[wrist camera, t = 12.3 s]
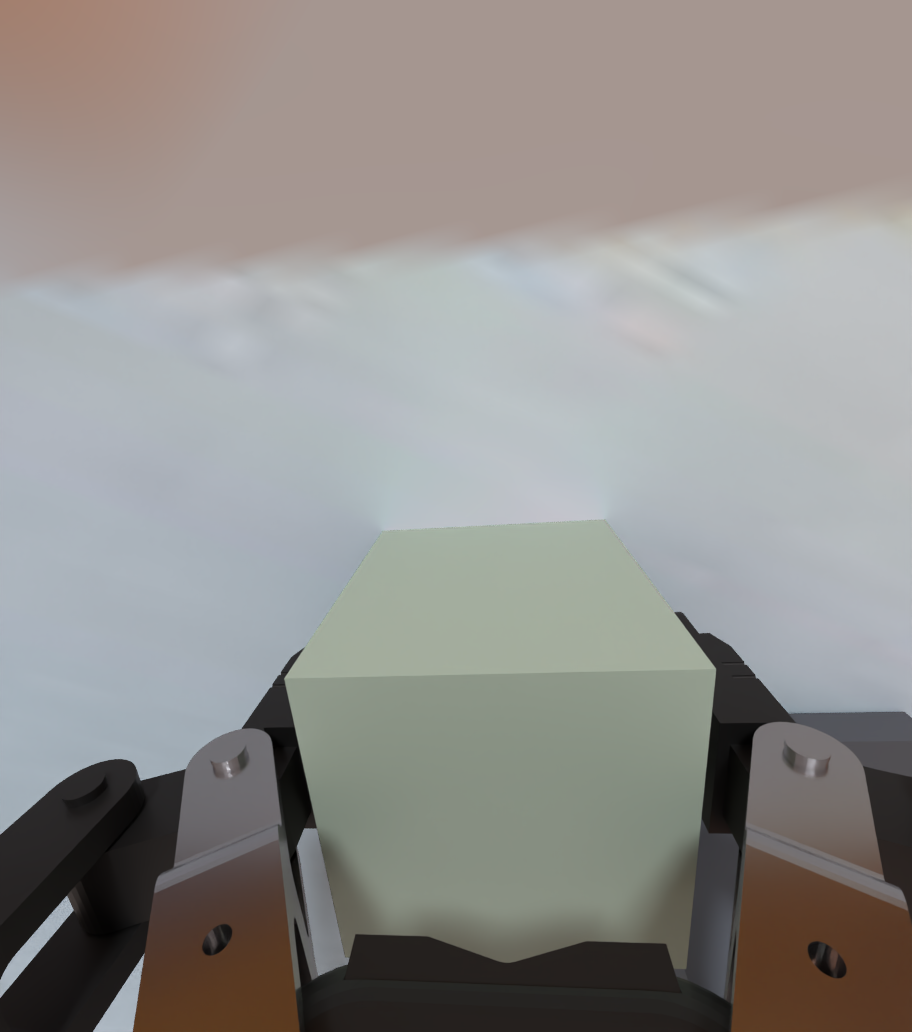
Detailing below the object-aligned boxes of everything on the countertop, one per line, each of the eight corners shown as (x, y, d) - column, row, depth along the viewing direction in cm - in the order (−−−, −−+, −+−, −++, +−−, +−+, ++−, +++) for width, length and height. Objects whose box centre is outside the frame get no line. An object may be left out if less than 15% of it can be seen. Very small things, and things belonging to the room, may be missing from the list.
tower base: (561, 938, 16) (612, 1353, 9) (556, 717, 13) (623, 1075, 6) (847, 946, 15) (1133, 1408, 8) (904, 711, 12) (1389, 1116, 6)
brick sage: (406, 709, 14) (344, 957, 8) (383, 530, 12) (283, 678, 6) (601, 706, 13) (686, 969, 7) (604, 518, 11) (716, 669, 6)
